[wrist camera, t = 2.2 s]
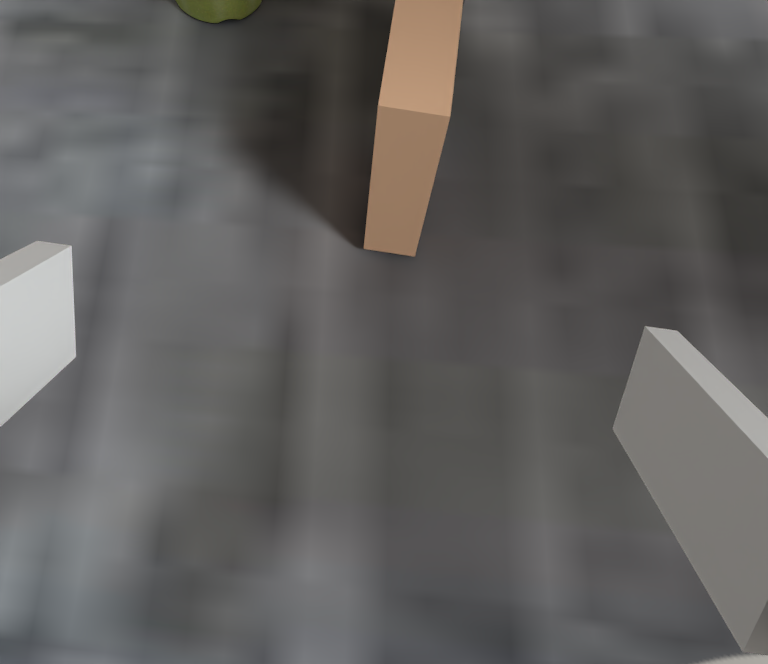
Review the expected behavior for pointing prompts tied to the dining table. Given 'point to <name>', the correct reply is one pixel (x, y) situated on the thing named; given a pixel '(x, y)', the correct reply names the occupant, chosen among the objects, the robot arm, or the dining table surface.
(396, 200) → the tan rectangular block
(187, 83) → the dining table surface
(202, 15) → the plant pot
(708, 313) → the dining table surface
